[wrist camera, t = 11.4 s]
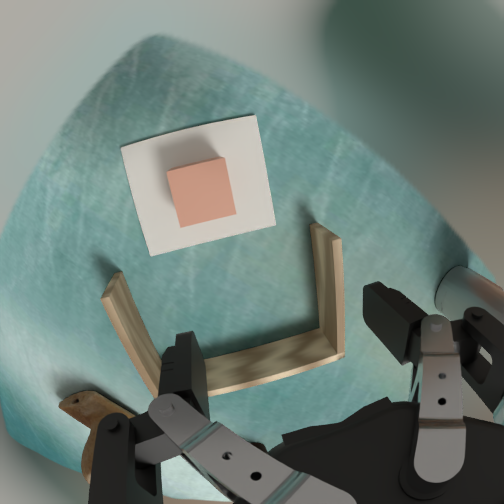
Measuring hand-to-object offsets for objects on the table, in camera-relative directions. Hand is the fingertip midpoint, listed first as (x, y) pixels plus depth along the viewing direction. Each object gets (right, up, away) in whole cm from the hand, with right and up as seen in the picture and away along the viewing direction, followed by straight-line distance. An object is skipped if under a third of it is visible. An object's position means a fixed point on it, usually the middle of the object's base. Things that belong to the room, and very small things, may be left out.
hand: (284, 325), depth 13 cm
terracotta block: (-7, +10, +16) cm, 20 cm away
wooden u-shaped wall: (-4, -4, +22) cm, 23 cm away
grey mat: (-7, +10, +16) cm, 20 cm away
